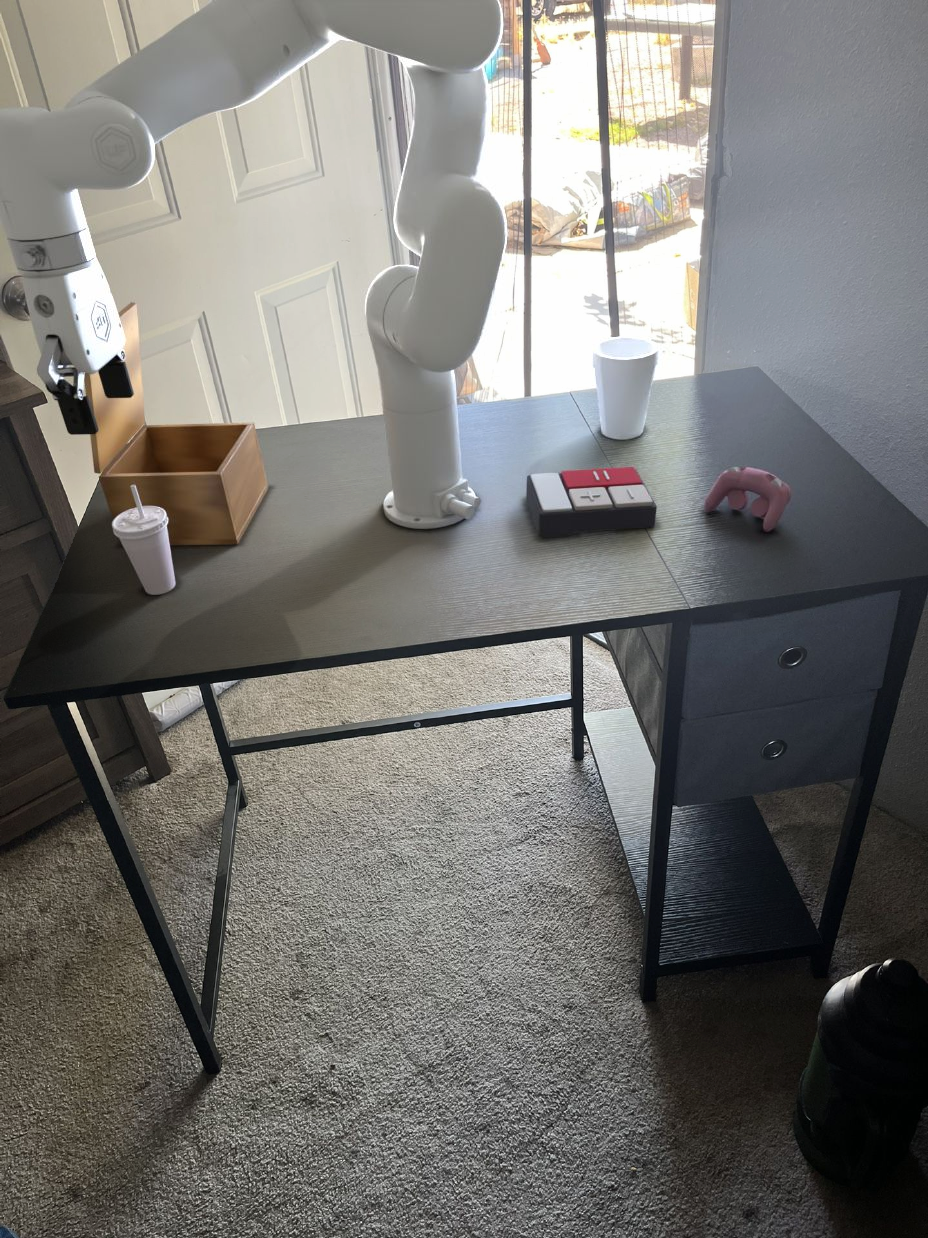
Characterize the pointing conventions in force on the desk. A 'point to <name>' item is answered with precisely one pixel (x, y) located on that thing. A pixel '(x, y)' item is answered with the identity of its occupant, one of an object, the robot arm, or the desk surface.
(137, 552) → the smoothie
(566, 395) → the desk surface
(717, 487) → the video game controller
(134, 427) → the box lid
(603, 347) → the foam cup
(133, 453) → the box
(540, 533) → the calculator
